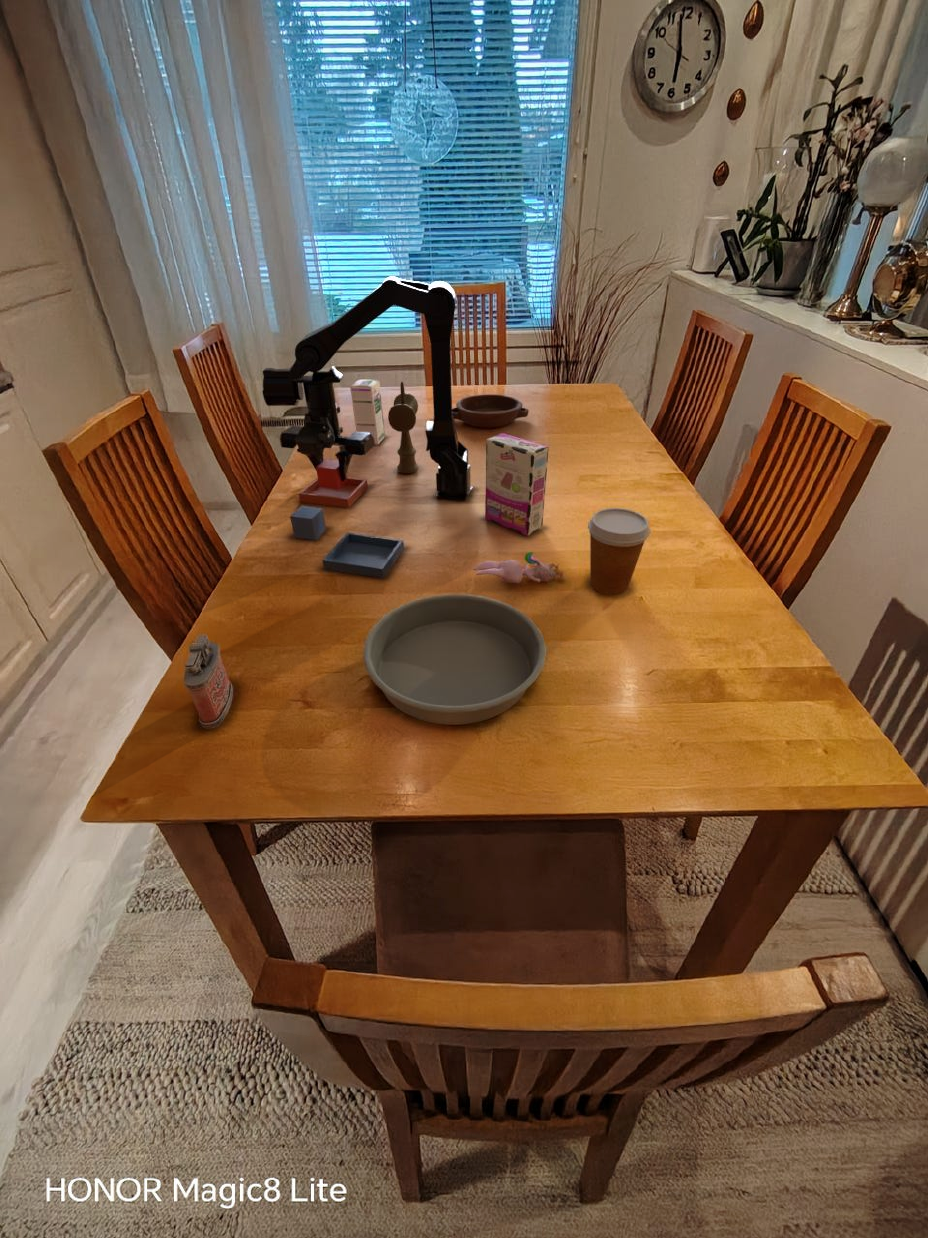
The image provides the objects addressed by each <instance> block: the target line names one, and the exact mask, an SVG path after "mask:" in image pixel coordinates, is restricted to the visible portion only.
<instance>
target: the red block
mask: <svg viewBox="0 0 928 1238" xmlns="http://www.w3.org/2000/svg"><path fill="white" fill-rule="evenodd" d="M316 470H317V471H316ZM316 470H315V471H316V476H317V477H318V482H319V487H322V488H331V489H340V488H341V487H342V486H343V485H344V484H345V483H346V482H347V477H348V474H347V475H346V479H345V480H344V481H341V477H340V470H339V461H338V459H329V458H325V459H324V461H323V462H322V463H320V464H319V465H318V466H317V467H316Z"/></svg>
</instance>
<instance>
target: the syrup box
mask: <svg viewBox="0 0 928 1238" xmlns="http://www.w3.org/2000/svg"><path fill="white" fill-rule="evenodd" d="M349 388H350V394H351V403H352V404H351V405H352V410H353V418H354V424H355V431H356V432H367V433H371V435H372V436H373V437H374V443H375V445H377V446H379V445H380V443H381V442H382V441H383V440H384V438H385V437H386V431H385V422H384V421H385V420H384V412H383V411H384V410H383V403H382V395H381V385H380V380H377V379H358V380H357V381H355V382H354V383H353V384H351V385H350V387H349Z"/></svg>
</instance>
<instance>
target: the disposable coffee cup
mask: <svg viewBox="0 0 928 1238" xmlns="http://www.w3.org/2000/svg"><path fill="white" fill-rule="evenodd" d="M587 529H588V532H589V542H590V544H589V545H590V547H589V550H590V553H589V554H590V555H589V556H590V557H589V558H590V559H589V560H590V561H589V562H590V564H589V565H590V566H589V567H590V569H589V571H590V572H589V576H590V577H589V579H590V586H591V588H592V589H594V590H595V591H596V592H598V593H600V594H603V595H609V596H615V595H622V594H624V593H625V592H627V591H628V590H629V586H630V584H631V581H632V578H633V575H634V572H635V569H636V567H637V564H638V561H639V558H640V555H641V553H642V550H643V547H644V544H645V541H646V540H647V539H648V537H649V536H650V534H651V528H650V526H649V521H648V518H647V517H646V516H644V515H643V514H641V513H640V512H638V511H635V510H632V509H629V508H623V507H607V508H603V509H600V510H598V511H597V512H594V513H593V515H592V516H591V519H589V521H588V523H587Z"/></svg>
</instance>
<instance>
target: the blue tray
mask: <svg viewBox="0 0 928 1238" xmlns="http://www.w3.org/2000/svg"><path fill="white" fill-rule="evenodd" d="M404 543H405V542H404V539H398V538H391V537H384V536H383V537H382V536H376V535H369V534H361V533H354V532H346V533H345V534H344V535H343V537H341V539H340V540H339V541H338V542H337V543H336V544H335V545H334V547H333V548H332V549H331V550H330V551H329V552H328V553H327V554H326V556H324V558H323V559H322V565H323V570H325V571H327V570H328V571H334V572H340V573H347V574H352V575H360V576H365V577H373V578H380V579H384V578H385V577H386V575H387V574H388V573H389V571H390V569H391V568H392V567H393V566H394V564H395V563H396V561H397V560H398V558H399V557H400V555H401V554H402V553H403V551H404V550H405V546H404V545H405V544H404Z"/></svg>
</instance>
